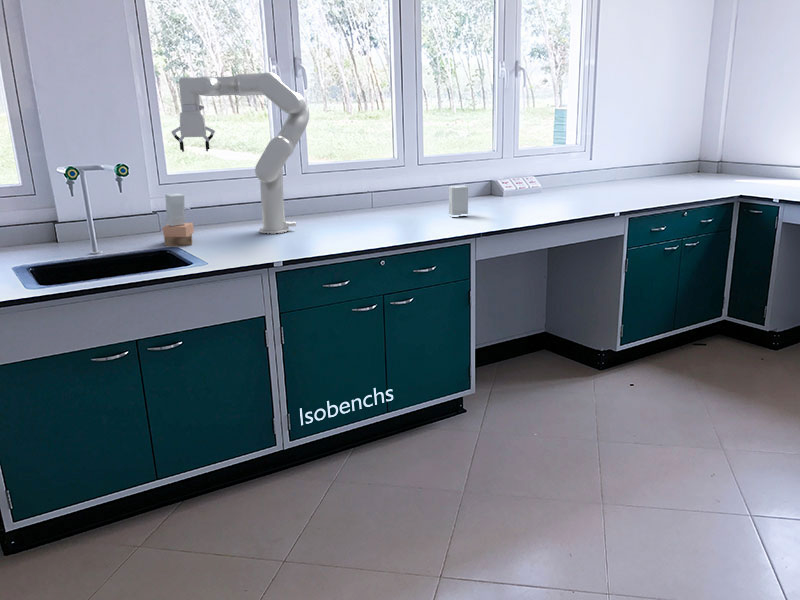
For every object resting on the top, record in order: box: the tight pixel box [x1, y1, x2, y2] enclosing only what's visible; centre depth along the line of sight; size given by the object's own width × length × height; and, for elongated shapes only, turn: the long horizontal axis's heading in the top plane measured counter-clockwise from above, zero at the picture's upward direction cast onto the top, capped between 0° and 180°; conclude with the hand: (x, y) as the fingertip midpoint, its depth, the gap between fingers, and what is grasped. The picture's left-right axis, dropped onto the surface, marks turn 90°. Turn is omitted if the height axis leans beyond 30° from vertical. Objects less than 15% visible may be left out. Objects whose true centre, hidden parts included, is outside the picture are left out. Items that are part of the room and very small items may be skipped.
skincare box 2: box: [448, 184, 469, 215], centre depth 315 cm, size 8×6×15 cm
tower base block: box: [163, 233, 193, 247], centre depth 262 cm, size 10×10×4 cm
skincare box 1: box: [165, 192, 186, 226], centre depth 258 cm, size 6×4×12 cm
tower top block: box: [162, 222, 195, 238], centre depth 261 cm, size 9×9×4 cm
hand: (195, 151), depth 274 cm, fingers open, 9 cm apart
